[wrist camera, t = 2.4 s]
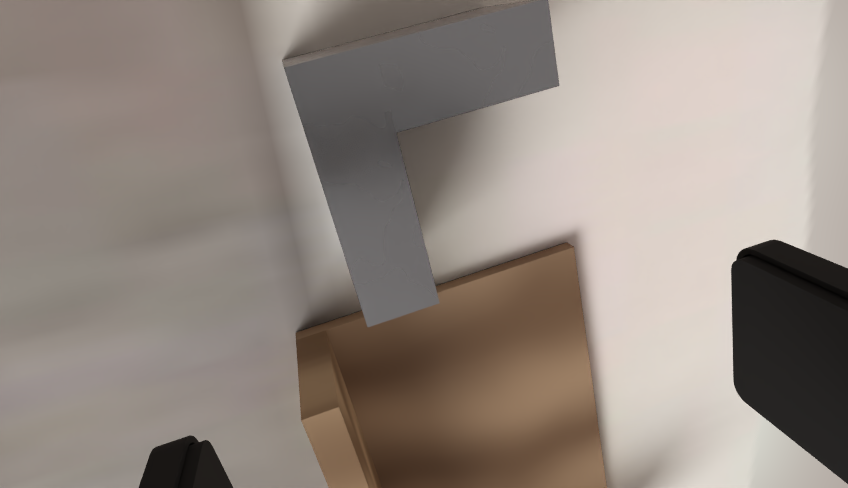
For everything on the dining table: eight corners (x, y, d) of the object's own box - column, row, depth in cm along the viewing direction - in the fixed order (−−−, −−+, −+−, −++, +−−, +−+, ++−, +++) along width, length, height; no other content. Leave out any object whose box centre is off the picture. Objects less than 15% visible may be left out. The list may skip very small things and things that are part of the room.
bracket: (281, 60, 19) (283, 67, 14) (485, 6, 20) (547, -2, 15) (348, 267, 22) (367, 327, 17) (520, 211, 23) (581, 255, 18)
